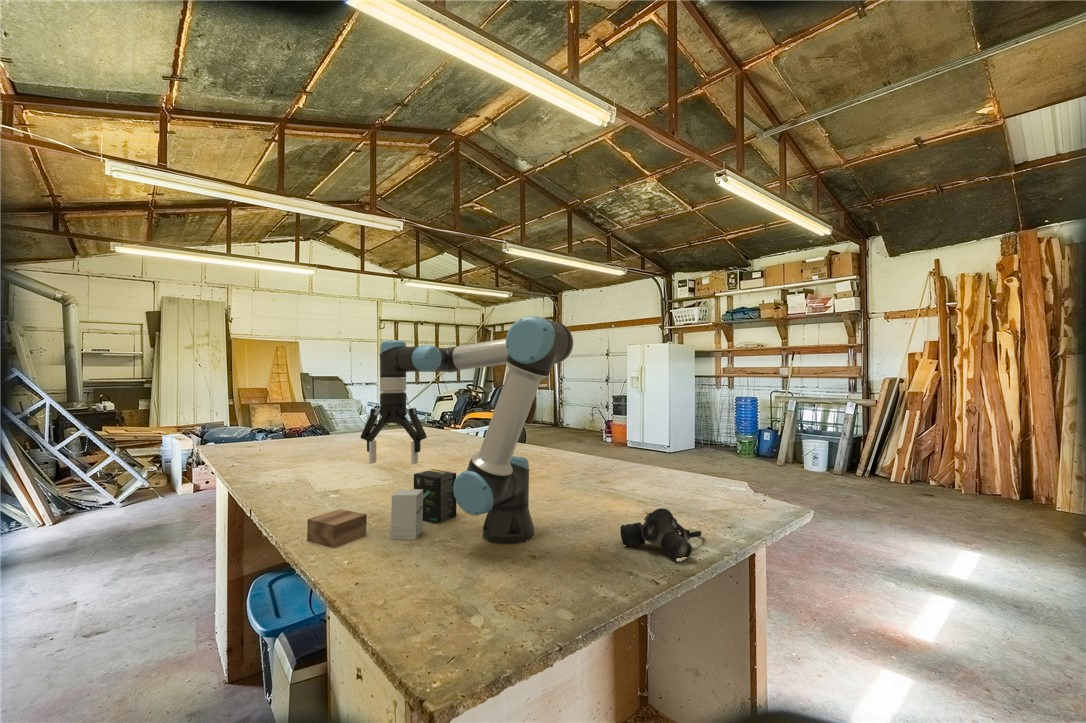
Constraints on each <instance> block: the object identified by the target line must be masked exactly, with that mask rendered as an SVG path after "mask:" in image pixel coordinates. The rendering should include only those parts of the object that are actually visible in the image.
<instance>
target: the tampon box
mask: <svg viewBox="0 0 1086 723" xmlns="http://www.w3.org/2000/svg"><path fill="white" fill-rule="evenodd" d="M456 478H457V472H453V471H447V470H440V469H430V470H429V469H428V470H425V471H422V472H418V473H417V472H416V473H414V474H413V489H423V521H424V522H428V523H432V524H439V523H441V522H445V521H448V520H450V519H453V518H456V517H457V516H458V514H457V500H456V498H455V497H454V492H453V486H454V482H455V479H456Z"/></svg>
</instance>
